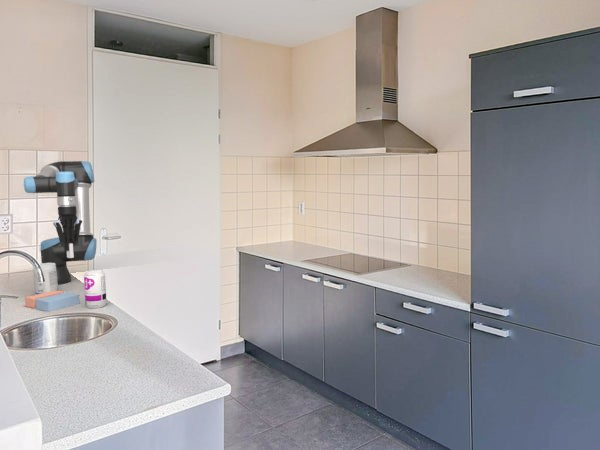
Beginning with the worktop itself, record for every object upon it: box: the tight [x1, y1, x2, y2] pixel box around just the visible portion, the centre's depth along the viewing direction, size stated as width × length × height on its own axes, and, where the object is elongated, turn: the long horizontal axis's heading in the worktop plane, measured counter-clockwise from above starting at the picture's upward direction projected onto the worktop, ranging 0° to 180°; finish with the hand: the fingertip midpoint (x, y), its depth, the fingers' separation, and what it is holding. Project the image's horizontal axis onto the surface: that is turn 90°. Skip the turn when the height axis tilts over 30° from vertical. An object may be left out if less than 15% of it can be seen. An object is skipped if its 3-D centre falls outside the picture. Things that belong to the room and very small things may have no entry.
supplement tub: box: [32, 262, 59, 295], centre depth 225 cm, size 10×10×15 cm
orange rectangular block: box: [24, 290, 65, 309], centre depth 210 cm, size 14×6×4 cm, turn 148°
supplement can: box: [83, 269, 108, 309], centre depth 204 cm, size 8×8×15 cm
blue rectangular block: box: [35, 291, 81, 313], centre depth 206 cm, size 14×10×4 cm
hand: (70, 257), depth 220 cm, fingers closed
